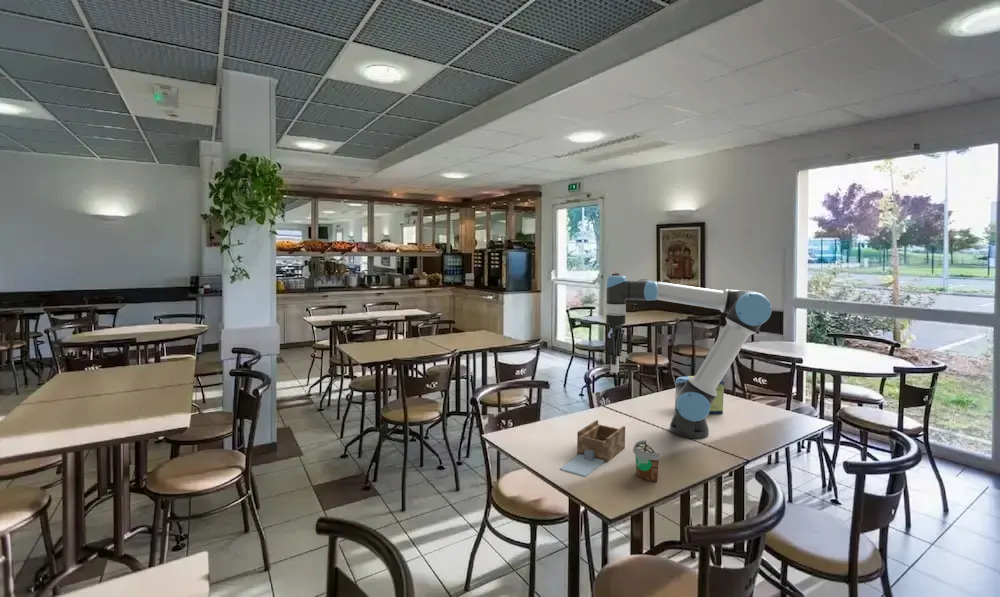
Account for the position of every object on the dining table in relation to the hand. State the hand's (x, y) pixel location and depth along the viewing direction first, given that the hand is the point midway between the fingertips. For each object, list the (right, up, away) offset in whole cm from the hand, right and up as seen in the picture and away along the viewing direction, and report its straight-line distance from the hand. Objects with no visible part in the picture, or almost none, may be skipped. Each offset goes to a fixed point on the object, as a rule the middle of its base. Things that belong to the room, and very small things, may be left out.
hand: (614, 371), depth 198 cm
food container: (+1, -30, -34) cm, 46 cm away
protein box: (+50, -24, +34) cm, 65 cm away
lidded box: (-8, -28, -14) cm, 32 cm away
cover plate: (-18, -30, -26) cm, 43 cm away
